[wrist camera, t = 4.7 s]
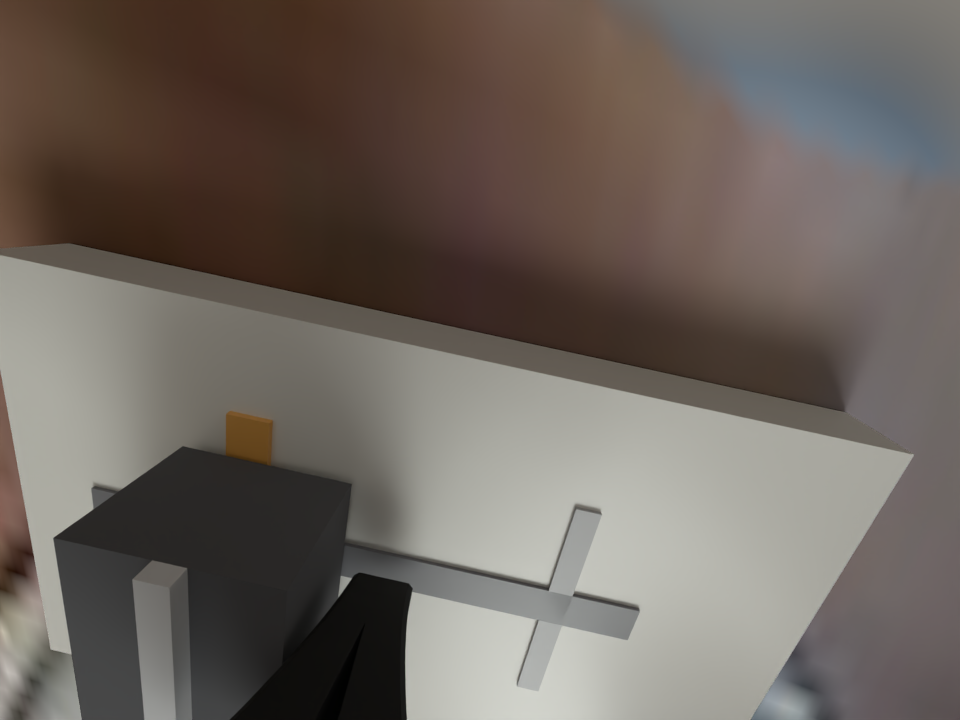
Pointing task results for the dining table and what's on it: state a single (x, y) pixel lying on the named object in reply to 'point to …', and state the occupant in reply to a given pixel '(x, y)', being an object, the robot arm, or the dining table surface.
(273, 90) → the dining table surface
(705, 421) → the control panel
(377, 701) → the robot arm
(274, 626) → the block
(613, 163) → the dining table surface
